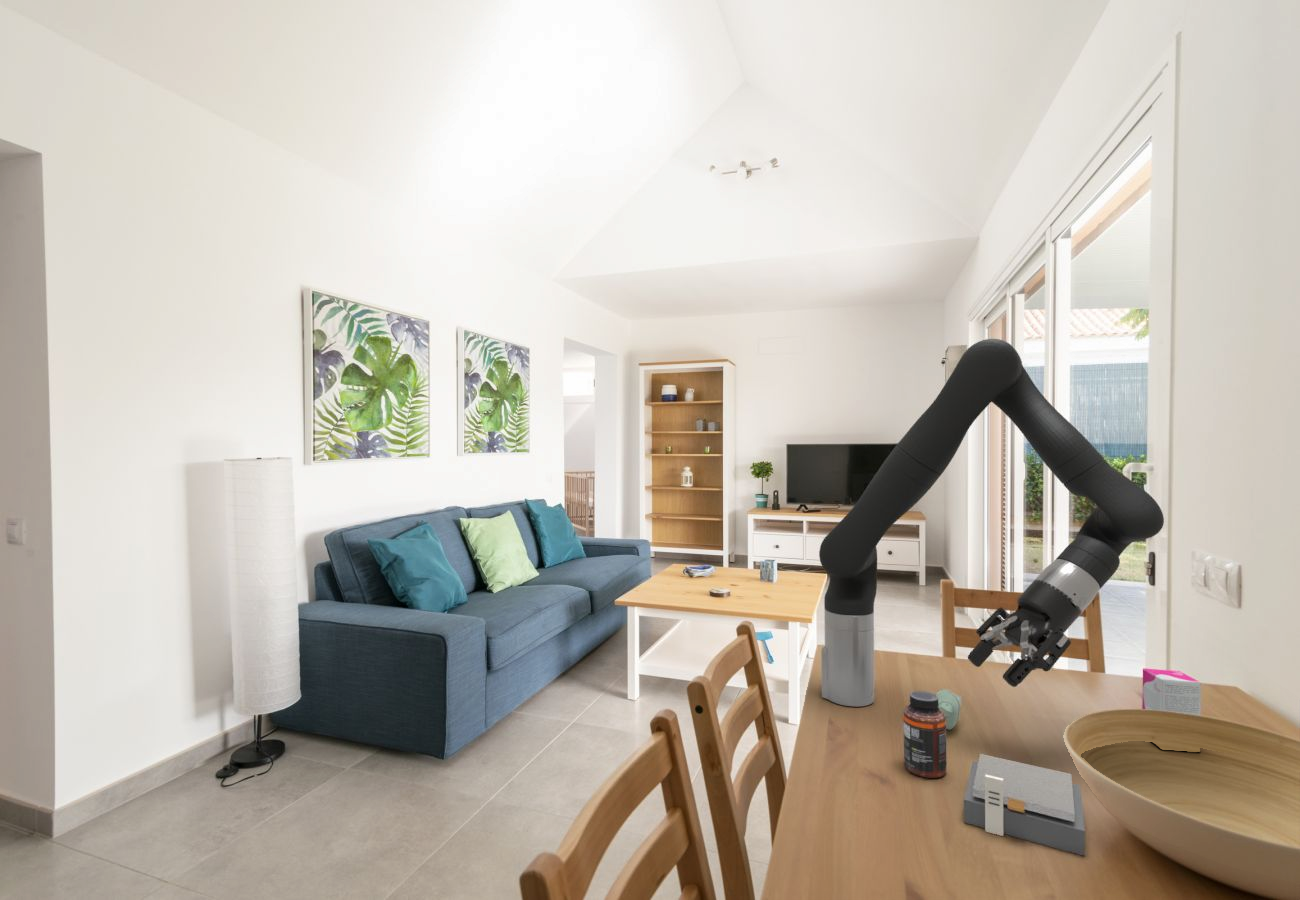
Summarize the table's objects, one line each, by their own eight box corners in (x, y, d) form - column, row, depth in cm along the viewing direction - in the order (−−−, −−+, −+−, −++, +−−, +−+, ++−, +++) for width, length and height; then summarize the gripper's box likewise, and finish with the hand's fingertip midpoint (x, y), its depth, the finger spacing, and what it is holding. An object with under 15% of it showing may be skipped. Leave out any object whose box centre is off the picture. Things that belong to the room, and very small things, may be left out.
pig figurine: (952, 740, 105) (952, 700, 105) (927, 733, 108) (927, 693, 108) (965, 724, 111) (965, 686, 111) (941, 718, 114) (941, 680, 114)
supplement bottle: (944, 763, 98) (943, 690, 98) (948, 782, 92) (948, 705, 92) (902, 757, 100) (902, 685, 100) (904, 776, 94) (904, 700, 94)
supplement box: (1202, 754, 100) (1202, 682, 100) (1160, 750, 102) (1160, 679, 102) (1180, 737, 106) (1179, 669, 106) (1140, 734, 107) (1139, 667, 107)
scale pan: (971, 801, 81) (971, 794, 81) (980, 760, 91) (980, 753, 91) (1075, 828, 75) (1075, 820, 75) (1071, 781, 86) (1071, 774, 86)
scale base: (963, 825, 82) (963, 771, 82) (972, 781, 92) (972, 733, 92) (1085, 859, 75) (1085, 800, 75) (1080, 807, 86) (1079, 755, 86)
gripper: (1011, 570, 105) (946, 641, 104) (1078, 589, 91) (1003, 672, 90) (1040, 601, 106) (976, 672, 104) (1111, 624, 91) (1038, 707, 90)
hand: (989, 672), depth 97 cm, fingers open, 8 cm apart
